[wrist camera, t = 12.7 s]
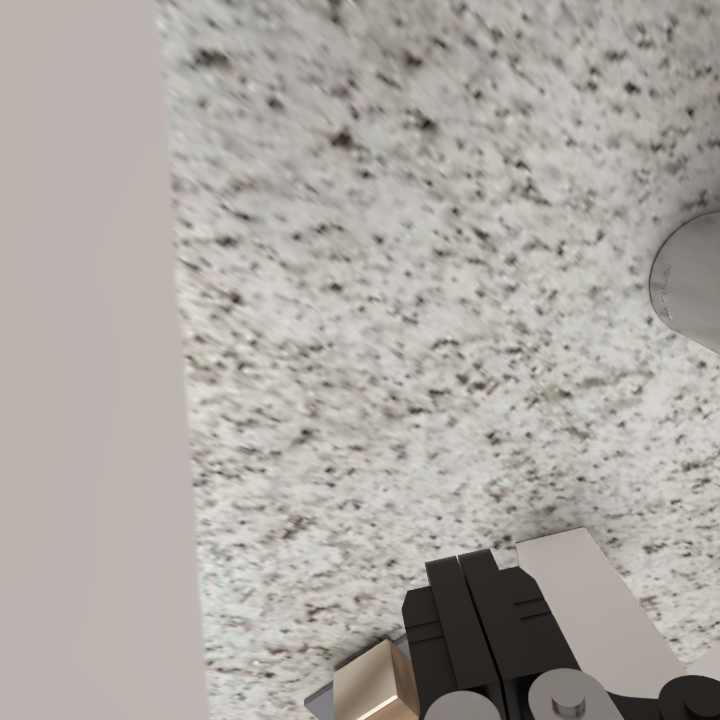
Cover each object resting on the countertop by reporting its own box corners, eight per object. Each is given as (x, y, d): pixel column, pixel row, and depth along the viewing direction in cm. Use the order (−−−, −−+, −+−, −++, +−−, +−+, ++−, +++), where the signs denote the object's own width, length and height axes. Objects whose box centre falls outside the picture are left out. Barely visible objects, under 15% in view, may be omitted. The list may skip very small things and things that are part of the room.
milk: (514, 542, 53) (644, 802, 32) (585, 525, 52) (762, 774, 32) (524, 600, 55) (654, 881, 34) (593, 584, 54) (765, 855, 34)
